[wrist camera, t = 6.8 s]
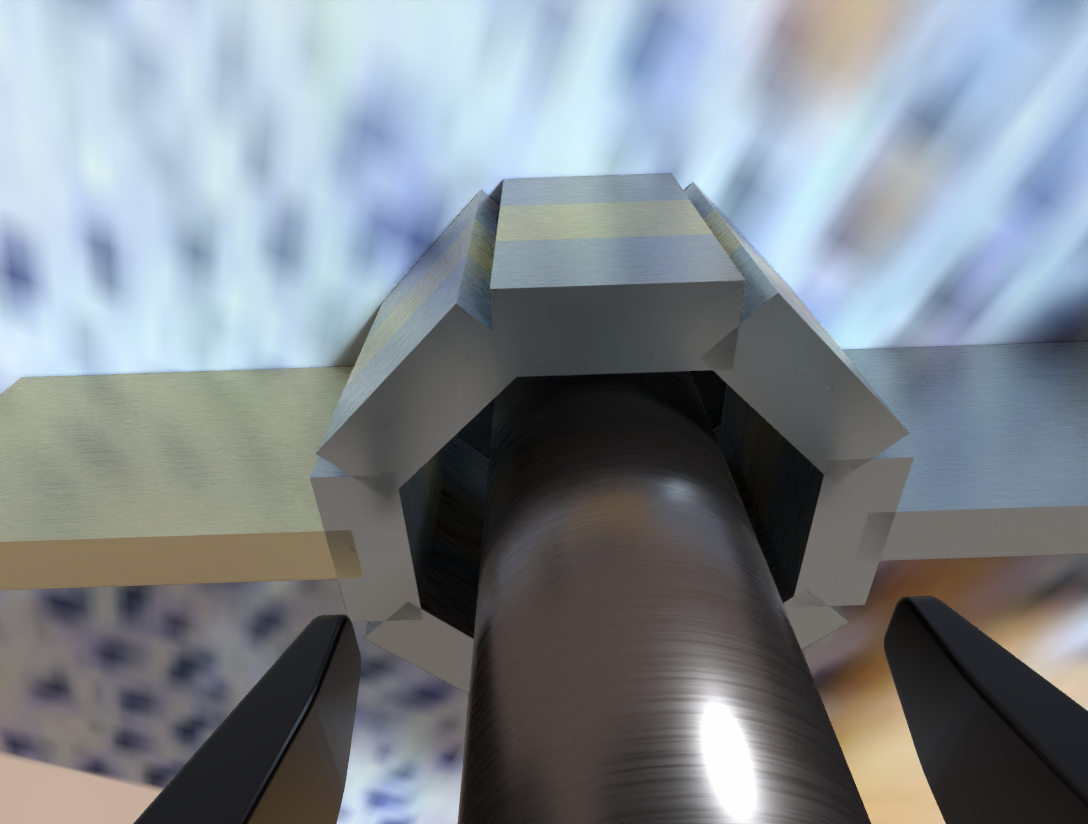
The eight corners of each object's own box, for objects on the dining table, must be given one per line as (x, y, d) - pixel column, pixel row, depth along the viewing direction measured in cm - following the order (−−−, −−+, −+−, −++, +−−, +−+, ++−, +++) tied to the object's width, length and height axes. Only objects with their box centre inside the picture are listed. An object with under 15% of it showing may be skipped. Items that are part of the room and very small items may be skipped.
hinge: (1248, 153, 12) (1626, 249, 8) (1065, 510, 17) (1244, 691, 13) (-72, 198, 12) (-386, 318, 8) (106, 542, 17) (-35, 734, 13)
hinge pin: (692, 289, 13) (963, 820, 5) (676, 453, 16) (848, 1015, 7) (490, 296, 13) (422, 837, 5) (502, 459, 16) (469, 1027, 7)
